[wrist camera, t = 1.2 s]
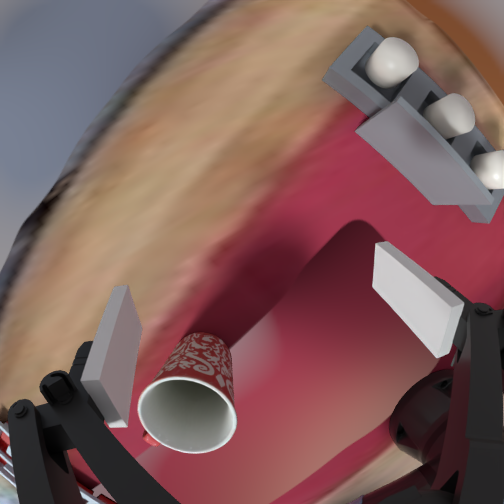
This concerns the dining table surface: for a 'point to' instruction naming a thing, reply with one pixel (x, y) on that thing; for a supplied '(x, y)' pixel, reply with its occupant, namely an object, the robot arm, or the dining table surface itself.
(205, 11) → the dining table surface
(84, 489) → the maze game
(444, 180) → the card
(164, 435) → the mug
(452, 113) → the button middle
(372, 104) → the button board
